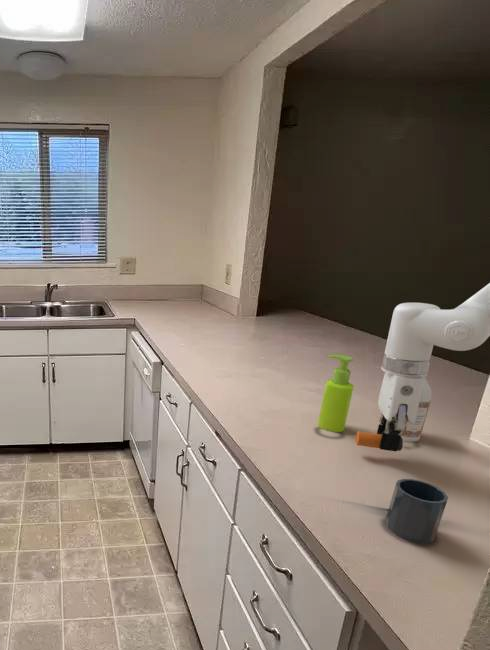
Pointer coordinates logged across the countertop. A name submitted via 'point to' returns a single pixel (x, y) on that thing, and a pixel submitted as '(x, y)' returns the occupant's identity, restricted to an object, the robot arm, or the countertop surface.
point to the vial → (372, 440)
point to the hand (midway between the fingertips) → (386, 445)
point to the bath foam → (418, 414)
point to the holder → (416, 510)
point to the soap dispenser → (336, 397)
